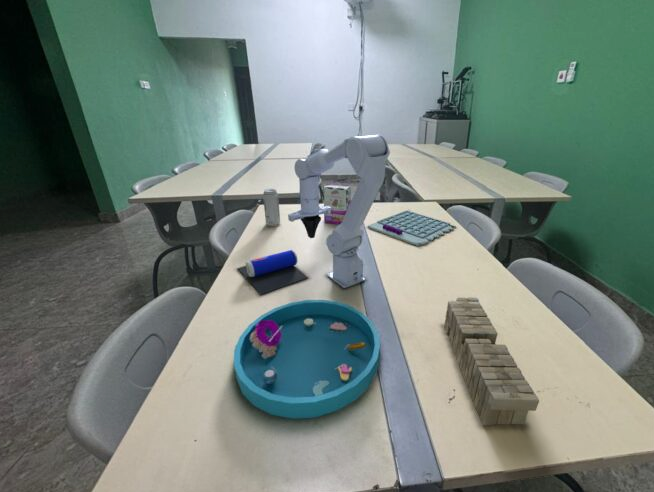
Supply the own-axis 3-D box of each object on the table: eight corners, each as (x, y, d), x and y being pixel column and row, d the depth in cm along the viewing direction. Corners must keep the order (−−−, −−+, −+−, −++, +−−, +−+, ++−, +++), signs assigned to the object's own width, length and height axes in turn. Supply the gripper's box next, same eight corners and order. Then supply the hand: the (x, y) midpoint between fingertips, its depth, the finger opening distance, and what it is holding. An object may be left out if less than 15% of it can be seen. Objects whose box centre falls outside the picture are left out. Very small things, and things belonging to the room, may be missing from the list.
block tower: (442, 325, 81) (483, 433, 54) (446, 297, 77) (492, 397, 51) (472, 325, 81) (529, 433, 54) (477, 297, 78) (540, 397, 51)
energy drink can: (265, 222, 138) (261, 189, 132) (279, 220, 140) (276, 187, 134) (267, 227, 133) (263, 192, 127) (281, 225, 135) (278, 191, 129)
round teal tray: (270, 307, 84) (268, 288, 81) (383, 318, 81) (384, 298, 79) (205, 407, 56) (199, 383, 54) (371, 429, 54) (373, 405, 51)
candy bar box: (351, 222, 142) (351, 186, 135) (347, 226, 138) (347, 189, 131) (328, 218, 145) (327, 183, 138) (323, 222, 140) (322, 186, 134)
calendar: (456, 228, 140) (457, 223, 139) (420, 247, 120) (421, 241, 119) (406, 213, 157) (406, 208, 156) (367, 227, 137) (367, 222, 136)
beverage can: (294, 247, 102) (247, 259, 93) (299, 262, 101) (252, 275, 93) (290, 252, 106) (244, 263, 98) (294, 266, 105) (249, 279, 97)
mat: (308, 278, 97) (307, 277, 97) (260, 295, 88) (260, 293, 88) (281, 256, 110) (281, 255, 110) (238, 269, 101) (237, 268, 101)
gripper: (322, 191, 106) (323, 228, 112) (282, 198, 98) (285, 238, 103) (334, 196, 101) (334, 234, 107) (293, 203, 93) (296, 245, 98)
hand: (311, 237), depth 105 cm, fingers closed
